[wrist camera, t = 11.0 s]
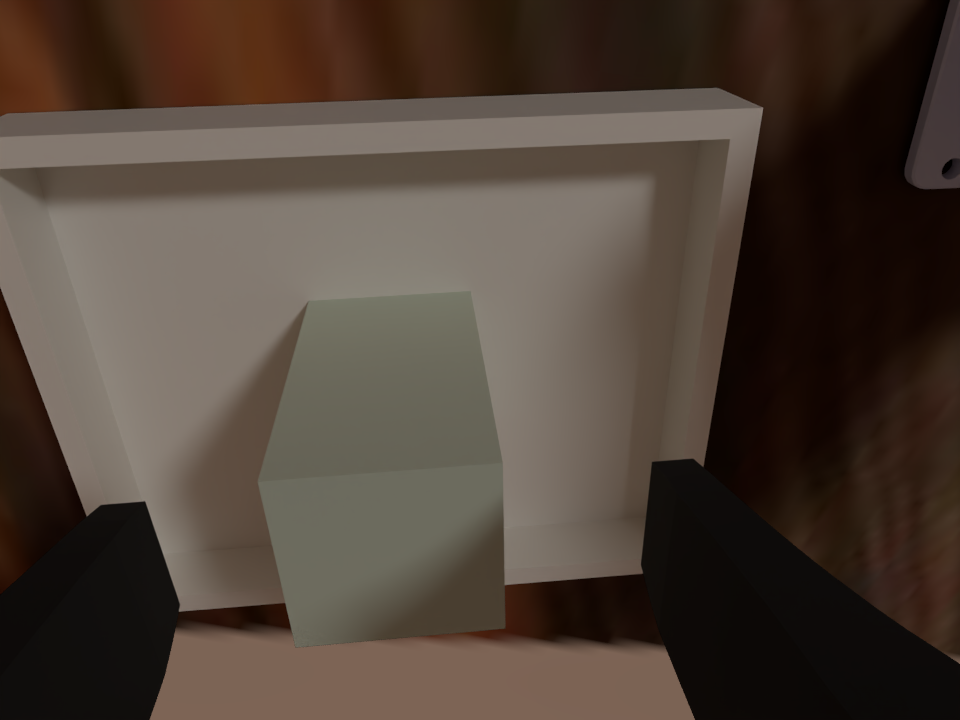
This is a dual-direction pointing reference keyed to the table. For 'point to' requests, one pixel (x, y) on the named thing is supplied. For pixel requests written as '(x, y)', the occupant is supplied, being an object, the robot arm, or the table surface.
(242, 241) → the serving tray
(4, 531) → the table surface
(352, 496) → the sage block
